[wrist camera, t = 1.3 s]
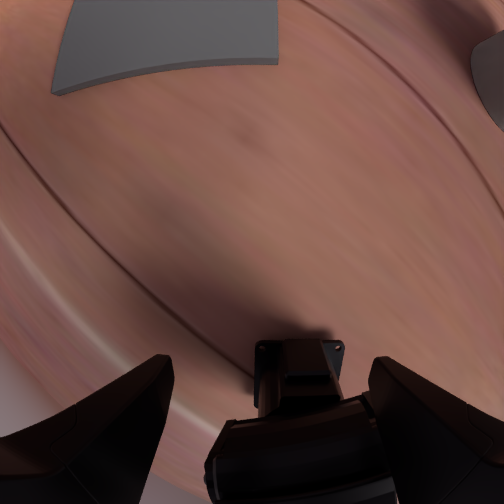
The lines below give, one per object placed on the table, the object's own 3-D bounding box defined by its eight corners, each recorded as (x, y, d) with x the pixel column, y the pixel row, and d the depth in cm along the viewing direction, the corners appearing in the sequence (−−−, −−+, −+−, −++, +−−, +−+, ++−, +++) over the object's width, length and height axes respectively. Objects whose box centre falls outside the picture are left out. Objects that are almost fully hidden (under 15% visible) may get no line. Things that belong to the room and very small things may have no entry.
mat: (278, 64, 17) (278, 58, 16) (59, 95, 17) (50, 93, 16) (274, -41, 14) (275, -49, 13) (84, -7, 15) (79, -12, 14)
